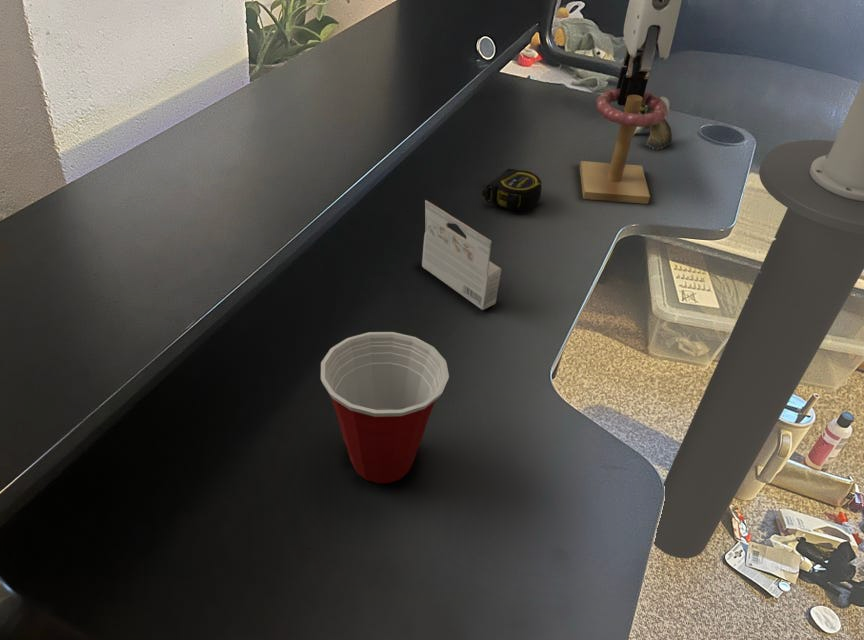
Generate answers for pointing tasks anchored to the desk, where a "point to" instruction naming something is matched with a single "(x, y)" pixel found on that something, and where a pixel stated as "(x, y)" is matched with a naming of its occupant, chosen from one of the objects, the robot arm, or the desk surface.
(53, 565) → the desk surface
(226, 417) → the desk surface
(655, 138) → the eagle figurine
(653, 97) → the ring
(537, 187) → the tape measure
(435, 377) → the plastic cup
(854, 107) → the robot arm
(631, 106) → the stand
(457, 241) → the ink cartridge box
